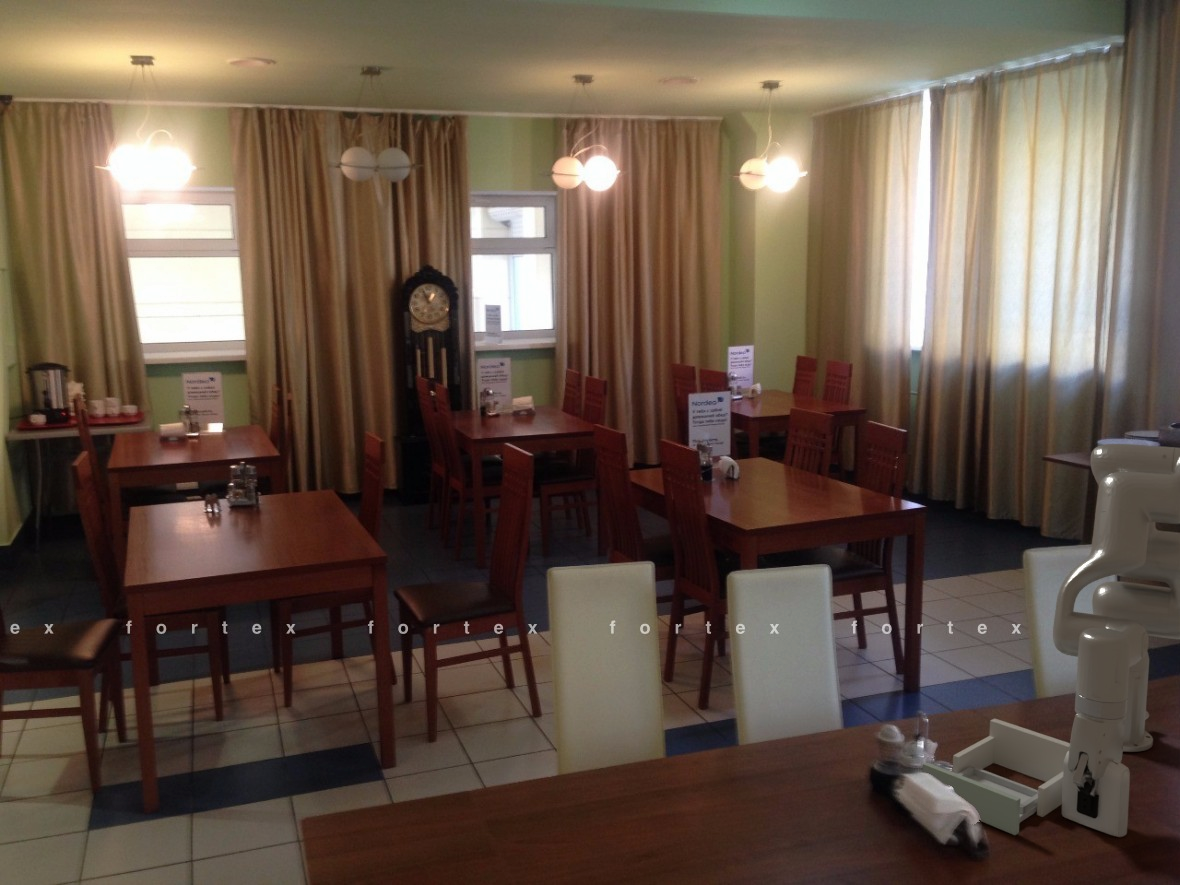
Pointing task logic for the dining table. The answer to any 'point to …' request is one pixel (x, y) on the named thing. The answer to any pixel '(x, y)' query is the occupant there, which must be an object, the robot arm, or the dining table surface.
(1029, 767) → the dock
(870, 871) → the dining table surface
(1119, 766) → the photo printer
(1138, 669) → the robot arm
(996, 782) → the tray
